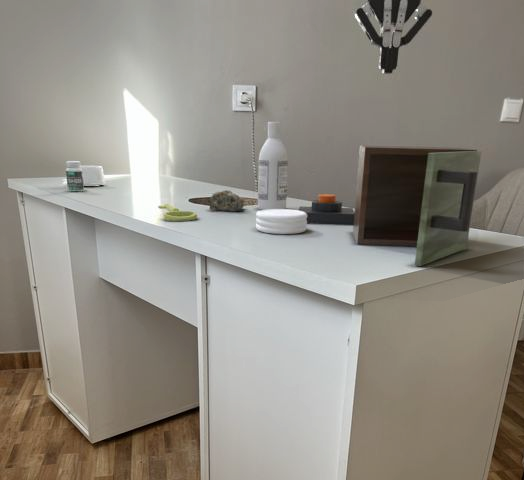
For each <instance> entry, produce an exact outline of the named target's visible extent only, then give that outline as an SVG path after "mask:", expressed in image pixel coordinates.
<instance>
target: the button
mask: <svg viewBox="0 0 524 480" xmlns="http://www.w3.org/2000/svg"><path fill="white" fill-rule="evenodd" d="M318 200H319V202H321V203H335V201H336V194H329V193H325V194H324V193H323V194H321V193H320V194H319V195H318Z"/></svg>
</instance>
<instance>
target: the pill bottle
mask: <svg viewBox="0 0 524 480" xmlns="http://www.w3.org/2000/svg"><path fill="white" fill-rule="evenodd" d="M65 163H66V169H65V176H66V186H67V191H68V192H71V191H81V192H84V191H85V187H84V183H83V171H82V169H81V168H80V167H81V166H82V164H81V161H77V160H67V161H66V162H65Z"/></svg>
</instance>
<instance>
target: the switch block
mask: <svg viewBox="0 0 524 480" xmlns="http://www.w3.org/2000/svg"><path fill="white" fill-rule="evenodd" d="M298 211H303V212H305V213H306V214H307V218H306V220H307V224H322V225H349V226H350V225H351V226H353V225H354V213H355V209H354V208H353V207H343V201H340V200H335V203H321V202H319V199H315V200H311V206H302V205H301V206H299V207H298Z"/></svg>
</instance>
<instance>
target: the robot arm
mask: <svg viewBox="0 0 524 480" xmlns="http://www.w3.org/2000/svg"><path fill="white" fill-rule="evenodd" d="M415 11H416V13H415ZM414 13H415V15H414ZM371 14H373V17H374V18H375V21H376V22H377V24H379V28H380V29H379V31H380V35H379V33H378V32H377V30H376V29H375V26H374V25H373V24H372V22H371V21H370V18H371V17H372V16H371ZM413 15H414V21H415V22H414V24H413V25H412V26H411V27H410V29H409V30H408V31H407V32H406V33H405V35H404V36H402V34H403V30H404V26H405V24H406V23H407V22H408V21H409V20H410V18H411V17H412V16H413ZM432 15H433V11H432V9H430V8H427V7H426V6H425V5H424V4H423V3H422V0H367V2H366V3H365V4H364V5H362V6H361V7H359V8H357V9H356V11H355V13H354V18H355V19H356V21H357V23H358V24H359V26H360V28H361V29H362V31H363V33H364V34H365V36H366V38H367V39H368V41H369V43H370V44H371V45H372V46H373V45H374V46H376V47H378V48H379V51H380V52H379V60H378V62H379V63H378V68H379V71H381V72H382V75H383V74H385V75H386V74H387V75H390V74H393V71H395V70H396V69H397V66H398V60H399V50H400V48H401V47H403V46H407V45H408V44H410V43H411V42H412V40H413V39H414V38H415V37H416V36H417V34H418V33H419V32H420V31H421V29H422V28H423V27H424V26H425V25H426V23H427V22H428V21H429V19H430V18H431V17H432Z"/></svg>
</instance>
